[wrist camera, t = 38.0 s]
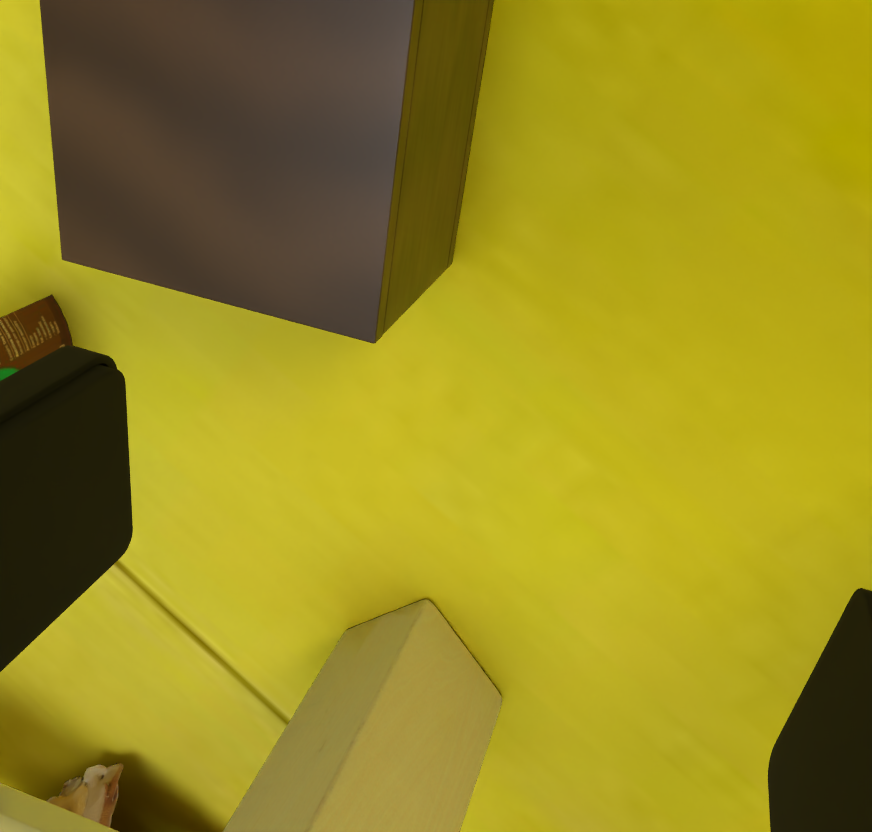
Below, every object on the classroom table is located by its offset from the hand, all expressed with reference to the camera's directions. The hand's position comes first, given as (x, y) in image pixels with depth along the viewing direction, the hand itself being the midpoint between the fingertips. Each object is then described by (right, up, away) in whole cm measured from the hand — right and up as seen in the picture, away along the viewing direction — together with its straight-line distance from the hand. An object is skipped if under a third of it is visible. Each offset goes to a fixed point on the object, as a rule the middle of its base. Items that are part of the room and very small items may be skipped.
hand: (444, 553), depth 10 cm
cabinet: (-4, +16, +24) cm, 29 cm away
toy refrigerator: (-1, -13, +38) cm, 40 cm away
